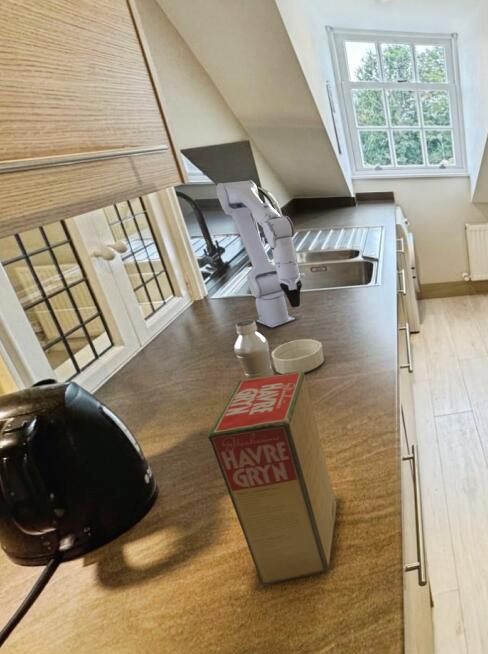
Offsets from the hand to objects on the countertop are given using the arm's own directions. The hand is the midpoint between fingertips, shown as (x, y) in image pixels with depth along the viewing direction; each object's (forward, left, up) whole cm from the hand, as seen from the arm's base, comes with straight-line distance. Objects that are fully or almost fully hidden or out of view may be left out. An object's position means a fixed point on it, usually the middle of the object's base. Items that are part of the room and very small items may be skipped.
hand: (295, 306), depth 132 cm
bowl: (+16, -11, -9) cm, 22 cm away
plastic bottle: (+27, -26, -10) cm, 39 cm away
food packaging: (+67, -43, -10) cm, 80 cm away
